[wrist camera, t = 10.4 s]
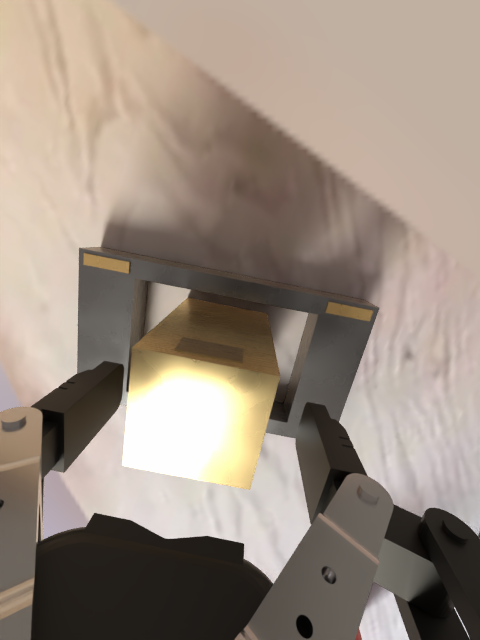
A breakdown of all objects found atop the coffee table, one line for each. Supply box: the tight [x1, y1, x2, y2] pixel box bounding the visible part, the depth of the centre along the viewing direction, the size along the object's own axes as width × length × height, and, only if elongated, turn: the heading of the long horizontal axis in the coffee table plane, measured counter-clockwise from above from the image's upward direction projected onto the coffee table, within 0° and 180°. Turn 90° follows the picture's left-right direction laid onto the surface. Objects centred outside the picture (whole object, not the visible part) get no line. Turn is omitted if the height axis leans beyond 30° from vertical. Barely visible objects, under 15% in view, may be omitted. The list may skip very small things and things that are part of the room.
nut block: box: [123, 298, 280, 490], centre depth 13 cm, size 5×5×8 cm
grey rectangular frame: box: [77, 247, 379, 438], centre depth 16 cm, size 16×9×2 cm, turn 79°
